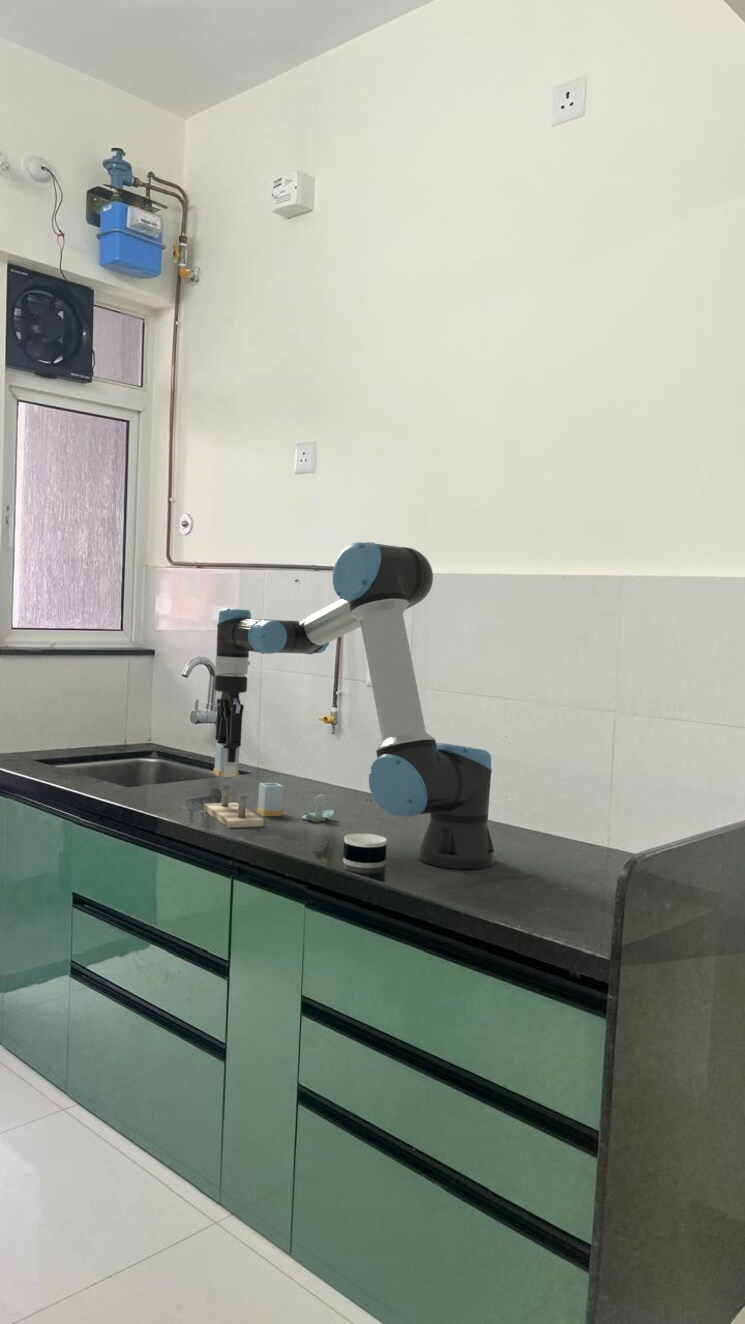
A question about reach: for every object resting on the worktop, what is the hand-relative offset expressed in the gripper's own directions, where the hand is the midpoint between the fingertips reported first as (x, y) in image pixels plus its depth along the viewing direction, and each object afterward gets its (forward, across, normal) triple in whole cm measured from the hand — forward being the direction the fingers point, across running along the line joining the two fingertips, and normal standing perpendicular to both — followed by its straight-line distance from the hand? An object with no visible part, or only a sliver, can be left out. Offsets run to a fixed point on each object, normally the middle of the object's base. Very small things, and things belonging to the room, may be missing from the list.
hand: (226, 773), depth 237 cm
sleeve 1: (0, 0, 0) cm, 0 cm away
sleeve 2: (+9, -4, -10) cm, 14 cm away
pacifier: (+9, -11, -19) cm, 24 cm away
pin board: (+9, -7, 0) cm, 11 cm away
